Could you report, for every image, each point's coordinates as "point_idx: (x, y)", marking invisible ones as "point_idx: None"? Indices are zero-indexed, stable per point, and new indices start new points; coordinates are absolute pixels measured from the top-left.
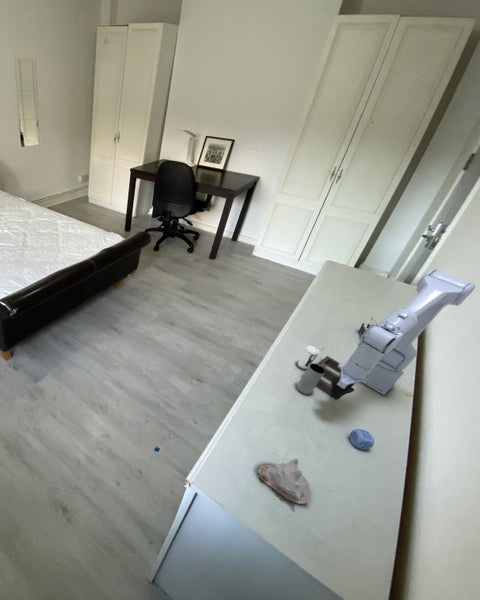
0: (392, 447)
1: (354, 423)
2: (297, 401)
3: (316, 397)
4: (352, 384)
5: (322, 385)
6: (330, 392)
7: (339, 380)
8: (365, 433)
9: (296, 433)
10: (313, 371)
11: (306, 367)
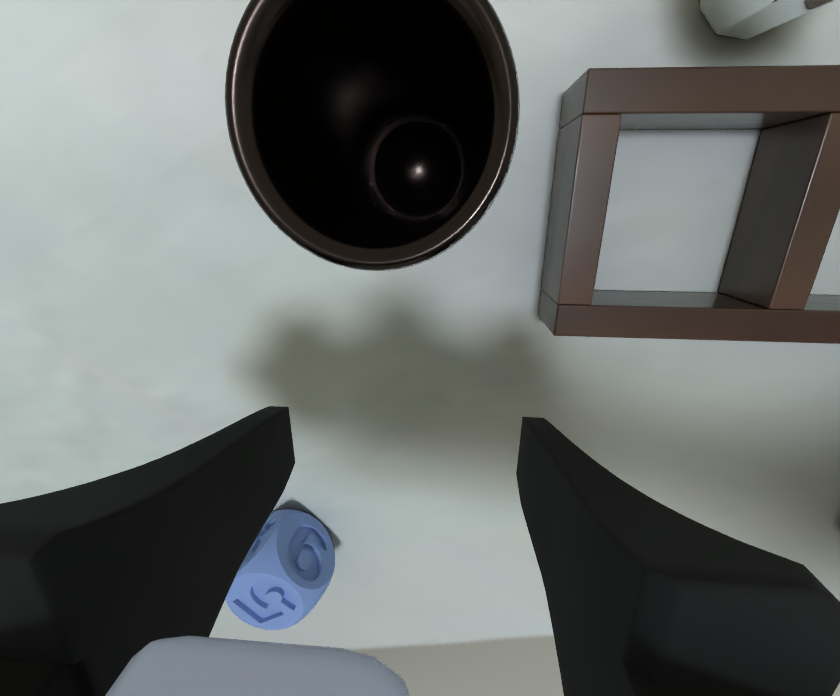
0: (420, 621)
1: (412, 493)
2: (248, 210)
3: (420, 277)
4: (538, 549)
5: (553, 258)
6: (239, 421)
7: (11, 641)
8: (275, 600)
9: (21, 334)
10: (228, 117)
11: (732, 20)
